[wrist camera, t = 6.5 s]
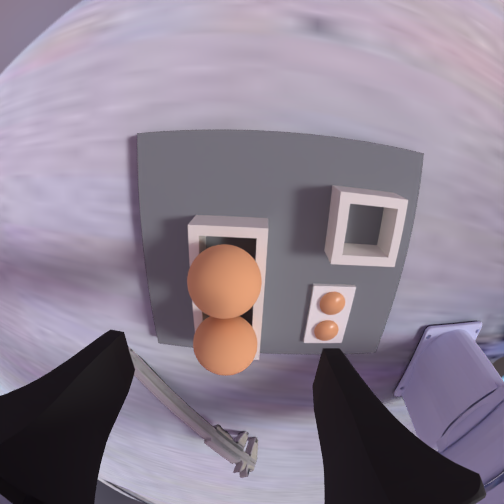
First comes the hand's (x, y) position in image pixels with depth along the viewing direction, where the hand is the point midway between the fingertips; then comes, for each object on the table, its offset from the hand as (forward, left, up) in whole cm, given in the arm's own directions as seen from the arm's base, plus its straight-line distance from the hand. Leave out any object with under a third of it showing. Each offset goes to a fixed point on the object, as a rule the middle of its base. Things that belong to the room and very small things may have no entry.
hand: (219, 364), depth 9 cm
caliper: (-17, +5, -11) cm, 21 cm away
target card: (-4, -6, -9) cm, 12 cm away
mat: (0, -2, -10) cm, 11 cm away
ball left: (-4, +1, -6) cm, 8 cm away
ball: (0, +1, -6) cm, 6 cm away
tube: (+3, -7, -9) cm, 12 cm away
